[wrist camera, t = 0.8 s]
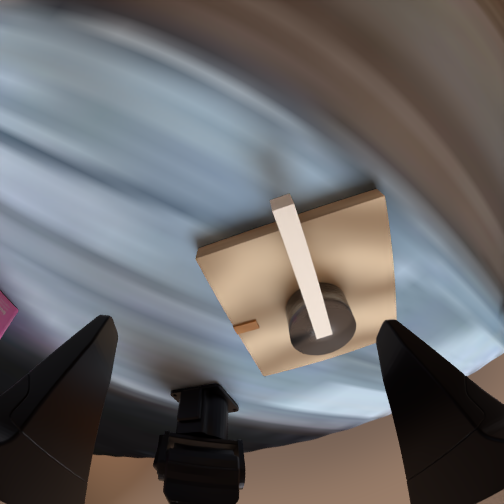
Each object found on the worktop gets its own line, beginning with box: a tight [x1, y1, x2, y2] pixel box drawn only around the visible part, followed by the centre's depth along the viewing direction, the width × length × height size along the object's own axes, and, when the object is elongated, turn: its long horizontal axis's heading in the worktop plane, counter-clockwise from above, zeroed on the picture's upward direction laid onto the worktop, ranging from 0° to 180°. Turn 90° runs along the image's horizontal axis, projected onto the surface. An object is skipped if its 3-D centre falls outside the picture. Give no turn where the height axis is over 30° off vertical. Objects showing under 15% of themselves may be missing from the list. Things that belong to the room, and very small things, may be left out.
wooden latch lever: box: [270, 194, 356, 355], centre depth 20 cm, size 13×5×3 cm, turn 20°
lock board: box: [196, 189, 396, 376], centre depth 24 cm, size 15×14×2 cm
